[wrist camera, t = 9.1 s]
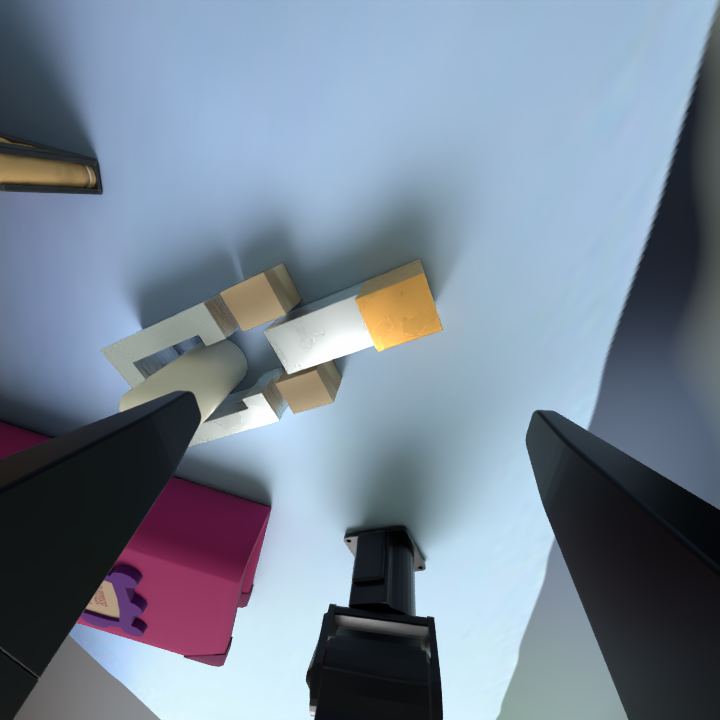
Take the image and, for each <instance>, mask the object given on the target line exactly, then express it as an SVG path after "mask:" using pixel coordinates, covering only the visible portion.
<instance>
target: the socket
mask: <svg viewBox="0 0 720 720" xmlns="http://www.w3.org/2000/svg"><path fill="white" fill-rule="evenodd" d="M239 328H240V325H239V324H238V322H237V321H236V319H235V317H234V316H233V314H232V312H231V311H230V309H229V308H228V306H227V304H226V303H225V301H224V299H223V298H222V296H221V295H220V294H218V295H216V296H214V297H212V298H210V299H207V300H205V301H203V302H201V303H199V304H197V305H194V306H192V307H190V308H188V309H186V310H184V311H181V312H179V313H177V314H175V315H173V316H171V317H168V318H166V319H164V320H162V321H160V322H158V323H155V324H153V325H151V326H149V327H147V328H145V329H142V330H140V331H138V332H136V333H134V334H132V335H130V336H128V337H126V338H124V339H122V340H120V341H118V342H116V343H114V344H111V345H109V346H107V347H105V348H103V349H101V350H100V351H101V352H102V353H103V354H104V356H105V357H106V358H107V359H108V360H109V362H110V363H111V364H112V365H113V366H114V367H115V369H116V370H117V371H118V372H119V373H120V375H121V376H122V377H123V378H124V379H125V381H126V382H127V383H128V384H129V385H130V387H131V388H134V387H135V386H137V385H138V384H140V383H141V382H143V381H144V380H146V379H147V378H148V377H150V376H151V375H153V374H154V373H156V372H157V371H159V370H160V369H162V368H163V367H165V366H166V365H168V364H169V363H170V362H172V361H173V360H175V359H176V358H178V357H179V356H180V355H179V353H178V352H177V351H176V349H175V348H174V347H173V345H175V344H178V343H180V342H183V341H185V340H187V339H190V338H192V337H194V336H197V335H199V336H200V338H201V339H202V341H203V342H204V344H205V345H206V346H209V345H211V344H214V343H216V342H218V341H221V340H223V339H226V338H227V337H229V336H230V335H231V334H233V333H234V332H235V331H236V330H238V329H239ZM283 372H284V371H283V369H282V368H281V367H279V368H276V369H273V370H270V371H268V372H265V373H264V374H263V375H262V376H261V377H260V378H259V380H258V381H257V382H256V383H255V385H254V386H253V387H251V388H248V389H245V390H242V391H239V392H236V393H233V394H230V395H228V396H227V397H226V398H225V399H224V400H223V401H222V402H221V404H220V405H219V406H218V407H217V408H216V409H215V410H214V411H213V412H212V413H211V414H210V416H209V417H208V418H207V419H206V420H205V421H204V422H203V423H202V424H201V425H200V427H199V428H198V429H197V431H196V432H195V434H194V436H193V438H192V440H191V442H190V444H189V446H188V447H190V446H193V445H197V444H200V443H204V442H207V441H211V440H214V439H218V438H221V437H225V436H228V435H232V434H235V433H238V432H242V431H245V430H249V429H252V428H256V427H259V426H263V425H266V424H270V423H273V422H277V421H279V420H280V419H281V417H282V415H283V413H284V412H285V410H286V408H287V406H288V404H287V402H286V400H285V399H284V397H283V395H282V394H281V392H280V391H279V389H278V387H277V386H276V384H275V383H276V382H277V381H278V379H279V378H280V376H281V375H282V374H283Z"/></svg>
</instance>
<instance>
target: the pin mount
mask: <svg viewBox="0 0 720 720" xmlns="http://www.w3.org/2000/svg"><path fill="white" fill-rule="evenodd" d="M220 295H221V296H222V298H223V299H224V301H225V303H226V304H227V306H228V308H229V309H230V311H231V312H232V314H233V316H234V317H235V319H236V321H237V322H238V324H239V325H240V327H241V329H242V330H243V332H244V331H246V330H249V329H251V328H254V327H256V326H259V325H261V324H264V323H266V322H269V321H271V320H274V319H276V318H278V317H281V316H283V315H286V314H287V313H288V312H289V311H290V310H291V309H292V308H293V307H294V306H295V305H297V304H298V303H299V302H300V301H301V300H302V299H301V297H300V295H299V293H298V291H297V289H296V287H295V285H294V283H293V281H292V279H291V277H290V275H289V273H288V271H287V269H286V267H285V266H284V264H283V263H281V264H279V265H277V266H275V267H273V268H270V269H268V270H266V271H264V272H262V273H260V274H257V275H255V276H253V277H251V278H249V279H247V280H245V281H242V282H240V283H238V284H236V285H234V286H232V287H230V288H228V289H226V290H224V291H222V292H220ZM341 380H342V378H341V376H340V374H339V372H338V370H337V368H336V366H335V364H334V362H333V360H330V361H327V362H324V363H321V364H318V365H315V366H312V367H309V368H306V369H303V370H300V371H297V372H294V373H291V374H288V373H287V371H286V369H285V371H284V372H283V374H282V375H281V376H280V378H279V379H278V381H277V382H276V383H275V384H276V386H277V387H278V389H279V391H280V392H281V394H282V395H283V397H284V399H285V400H286V402H287V404H288V405H289V407H290V408H291V410H292V412H293V413H294V414H295V413H299V412H302V411H306V410H309V409H313V408H316V407H319V406H323V405H326V404H330V403H333V402H334V400H335V397H336V394H337V391H338V388H339V386H340V383H341Z"/></svg>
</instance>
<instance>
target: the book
mask: <svg viewBox="0 0 720 720" xmlns="http://www.w3.org/2000/svg"><path fill="white" fill-rule="evenodd" d="M50 439H53V438H50V437H47V436H44V435H41V434H37V433H34V432H31V431H28V430H25V429H22V428H19V427H15V426H12V425H9V424H6V423H3V422H0V459H4V458H6V457H7V456H9V455H12V454H14V453H17V452H19V451H22V450H25V449H27V448H30V447H32V446H35V445H37V444H40V443H43V442H45V441H48V440H50ZM270 512H271V508H270V507H267V506H264V505H261V504H258V503H255V502H251V501H248V500H245V499H242V498H239V497H236V496H233V495H229V494H226V493H223V492H220V491H217V490H214V489H210V488H207V487H204V486H201V485H198V484H195V483H192V482H188V481H185V480H182V479H179V478H176V477H173V476H172V477H171V478H170V480H169V481H168V483H167V484H166V486H165V487H164V489H163V491H162V492H161V494H160V495H159V497H158V498H157V500H156V501H155V503H154V504H153V506H152V507H151V509H150V510H149V512H148V514H147V515H146V517H145V518H144V520H143V521H142V523H141V524H140V526H139V527H138V529H137V530H136V532H135V533H134V535H133V537H132V538H131V540H130V541H129V543H128V544H127V546H126V547H125V549H124V550H123V552H122V553H121V555H120V556H119V558H118V560H117V561H116V563H115V564H114V566H113V567H112V569H111V570H110V572H109V573H108V575H107V576H106V578H105V579H104V581H103V583H102V584H101V586H100V587H99V589H98V590H97V592H96V593H95V595H94V596H93V598H92V599H91V601H90V602H89V604H88V606H87V607H86V609H85V610H84V612H83V613H82V615H81V616H80V618H79V619H78V621H77V622H76V623H79V624H82V625H85V626H89V627H92V628H95V629H99V630H102V631H105V632H109V633H112V634H115V635H118V636H122V637H125V638H128V639H132V640H135V641H138V642H142V643H145V644H148V645H151V646H155V647H158V648H161V649H165V650H168V651H171V652H175V653H178V654H181V655H184V657H185V658H188V659H191V660H195V661H198V662H201V663H204V664H208V665H211V666H218V667H219V666H223V665H224V662H225V660H226V657H227V655H228V652H229V650H230V646H231V642H232V638H233V637H231V635H232V631H233V626H234V622H235V617H236V613H237V608H238V607H241V608H243V607H245V606H247V604H248V601H249V599H250V596H251V593H252V589H253V585H252V583H253V579H254V575H255V571H256V568H257V564H258V560H259V556H260V552H261V548H262V544H263V540H264V536H265V532H266V528H267V524H268V520H269V516H270Z"/></svg>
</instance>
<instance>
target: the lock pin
mask: <svg viewBox="0 0 720 720" xmlns="http://www.w3.org/2000/svg"><path fill="white" fill-rule="evenodd" d="M441 330H443V329H442V326H441V322H440V319H439V316H438V313H437V309H436V306H435V303H434V300H433V297H432V294H431V291H430V288H429V285H428V282H427V279H426V276H425V273H424V270H423V267H422V264H421V261H420V259H418V260H416V261H413V262H411V263H408V264H406V265H404V266H401V267H399V268H396V269H394V270H391V271H389V272H386V273H384V274H381V275H379V276H376V277H374V278H372V279H369V280H367V281H364V282H362V283H359V284H357V285H354V286H352V287H349V288H347V289H344V290H342V291H340V292H337V293H335V294H332V295H330V296H327V297H325V298H322V299H320V300H317V301H315V302H312V303H310V304H307V305H305V306H303V307H300V308H298V309H295V310H293V311H290V312H288V313H287V314H286V315H283V316H281V317H279V318H278V319H277V320H276V321H275V322H274V323H272V324H271V325H270V326H269V327H268V328H267V329H266V330H265V331H264V334H265V335H266V337H267V339H268V340H269V342H270V344H271V346H272V347H273V349H274V351H275V352H276V354H277V356H278V357H279V359H280V361H281V363H282V364H283V366H284V368H285V369H286V371H287V373H288V374H291V373H294V372H297V371H300V370H303V369H306V368H309V367H312V366H315V365H318V364H321V363H324V362H327V361H330V360H333V359H335V358H338V357H341V356H344V355H347V354H350V353H353V352H356V351H359V350H362V349H365V348H368V347H371V346H374V345H375V347H376V349H377V351H381V350H384V349H387V348H390V347H393V346H396V345H399V344H402V343H405V342H408V341H411V340H414V339H417V338H420V337H423V336H426V335H429V334H432V333H435V332H438V331H441Z"/></svg>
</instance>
